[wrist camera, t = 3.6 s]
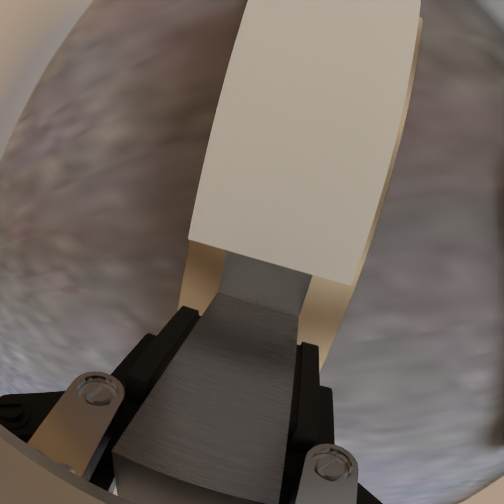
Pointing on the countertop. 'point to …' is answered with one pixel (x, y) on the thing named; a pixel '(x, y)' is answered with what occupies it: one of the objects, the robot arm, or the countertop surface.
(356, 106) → the sleeve
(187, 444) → the grey l-shaped piece
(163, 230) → the countertop surface
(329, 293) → the stand
